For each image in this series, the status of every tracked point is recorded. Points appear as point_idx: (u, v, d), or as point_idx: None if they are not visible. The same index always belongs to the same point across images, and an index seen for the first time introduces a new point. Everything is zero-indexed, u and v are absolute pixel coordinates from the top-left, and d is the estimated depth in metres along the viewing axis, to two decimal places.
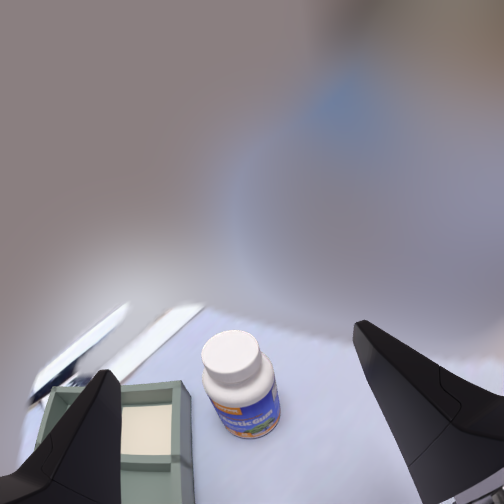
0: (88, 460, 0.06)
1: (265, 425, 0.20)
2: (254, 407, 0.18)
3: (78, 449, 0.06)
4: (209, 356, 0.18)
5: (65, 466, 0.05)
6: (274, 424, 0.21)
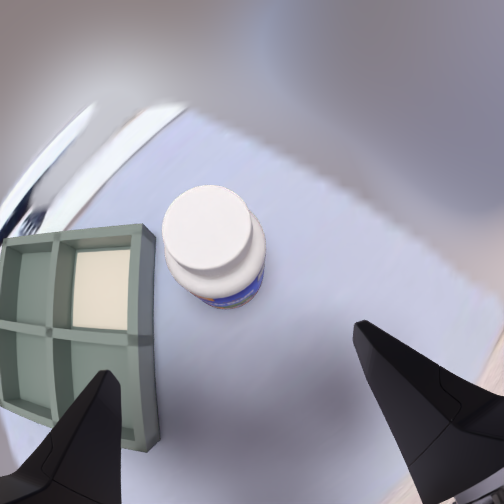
0: (88, 460, 0.06)
1: (242, 302, 0.19)
2: (231, 297, 0.15)
3: (78, 449, 0.06)
4: (173, 232, 0.12)
5: (65, 466, 0.05)
6: (253, 296, 0.20)
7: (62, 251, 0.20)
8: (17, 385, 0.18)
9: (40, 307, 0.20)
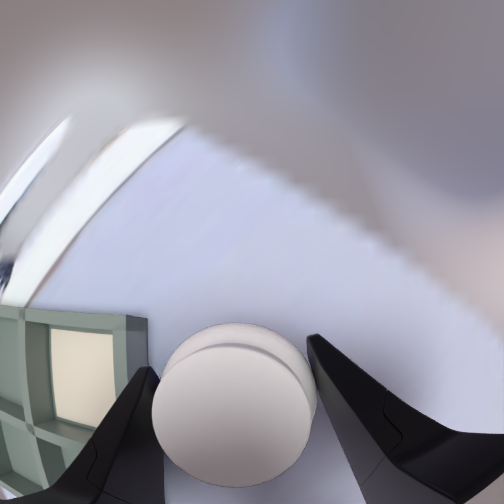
0: (135, 464, 0.06)
1: None
2: None
3: (125, 454, 0.06)
4: (173, 432, 0.06)
5: (114, 474, 0.05)
6: None
7: (30, 332, 0.13)
8: (8, 459, 0.12)
9: (18, 385, 0.14)
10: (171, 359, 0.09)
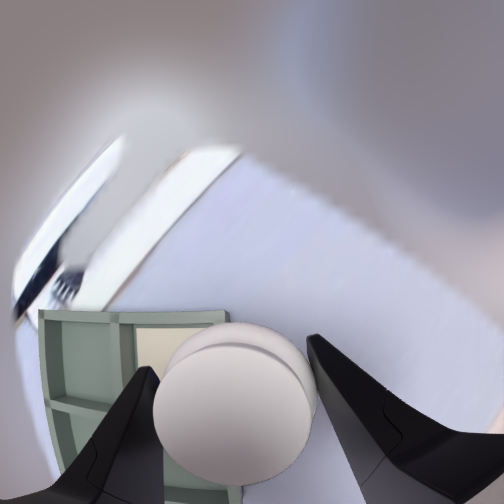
0: (135, 464, 0.06)
1: None
2: None
3: (125, 454, 0.06)
4: (174, 431, 0.06)
5: (114, 474, 0.05)
6: None
7: (123, 333, 0.19)
8: (76, 456, 0.17)
9: (96, 383, 0.20)
10: (172, 358, 0.09)
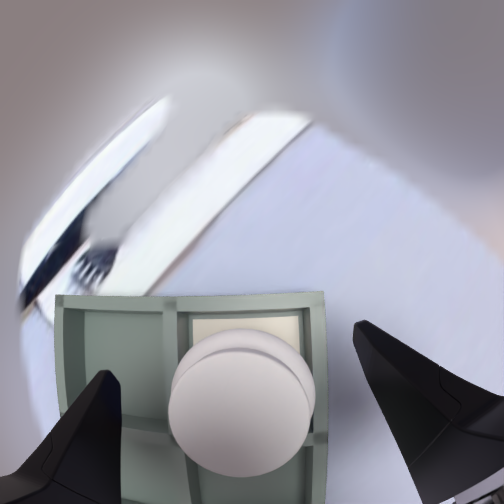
0: (88, 460, 0.06)
1: None
2: None
3: (78, 450, 0.06)
4: (188, 428, 0.07)
5: (65, 466, 0.05)
6: None
7: (179, 325, 0.15)
8: None
9: (131, 392, 0.16)
10: (182, 362, 0.09)
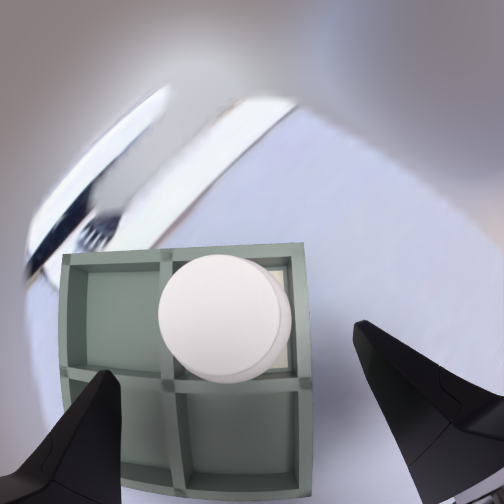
0: (88, 460, 0.06)
1: None
2: None
3: (78, 449, 0.06)
4: (174, 324, 0.09)
5: (65, 466, 0.05)
6: None
7: None
8: None
9: (128, 346, 0.18)
10: None
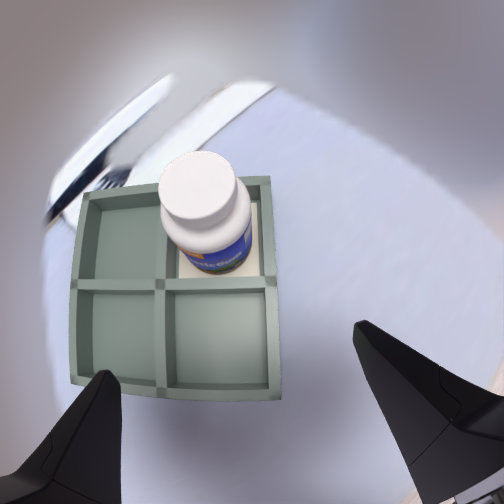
0: (88, 460, 0.06)
1: (231, 265, 0.20)
2: (219, 253, 0.17)
3: (78, 449, 0.06)
4: (168, 189, 0.14)
5: (65, 466, 0.05)
6: (242, 262, 0.22)
7: None
8: (91, 357, 0.20)
9: (131, 265, 0.23)
10: None
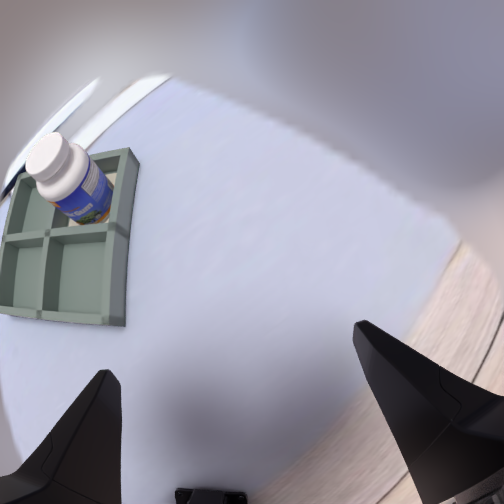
0: (88, 460, 0.06)
1: (90, 217, 0.23)
2: (66, 201, 0.19)
3: (78, 449, 0.06)
4: (30, 158, 0.16)
5: (65, 466, 0.05)
6: (104, 216, 0.24)
7: None
8: (12, 296, 0.23)
9: (42, 225, 0.25)
10: None
